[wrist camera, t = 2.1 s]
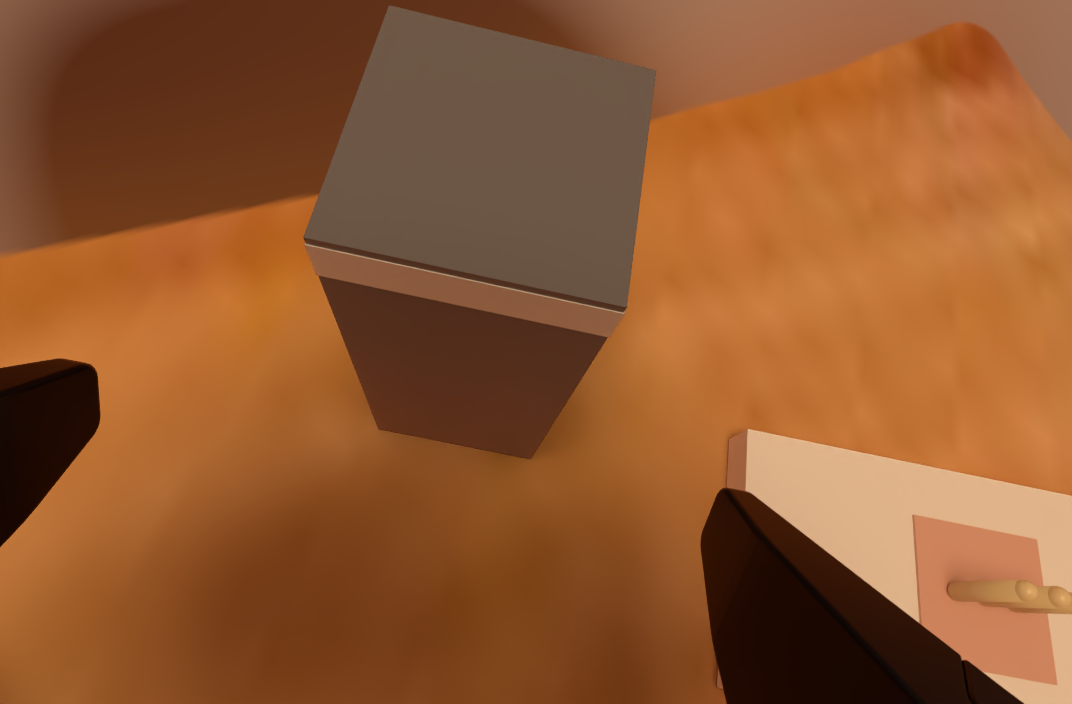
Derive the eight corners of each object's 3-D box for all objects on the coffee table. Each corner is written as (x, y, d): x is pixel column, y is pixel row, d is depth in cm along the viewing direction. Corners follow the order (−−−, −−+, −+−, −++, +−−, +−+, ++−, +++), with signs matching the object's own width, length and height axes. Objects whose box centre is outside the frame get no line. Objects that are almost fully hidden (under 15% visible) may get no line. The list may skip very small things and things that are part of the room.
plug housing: (530, 459, 21) (628, 309, 10) (377, 429, 21) (301, 238, 10) (554, 322, 23) (657, 70, 12) (415, 292, 23) (388, 4, 12)
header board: (1184, 770, 20) (1376, 815, 16) (716, 687, 19) (792, 712, 15) (1134, 522, 23) (1284, 506, 19) (728, 439, 22) (794, 403, 18)
